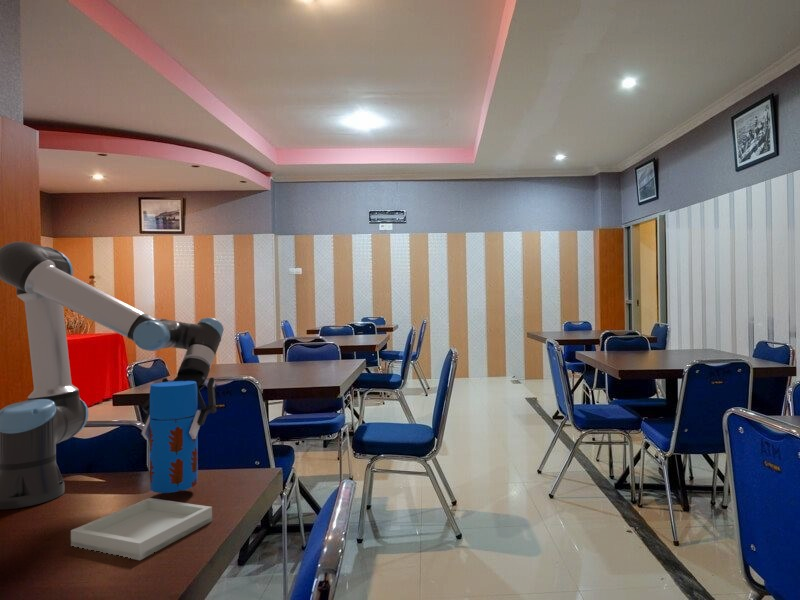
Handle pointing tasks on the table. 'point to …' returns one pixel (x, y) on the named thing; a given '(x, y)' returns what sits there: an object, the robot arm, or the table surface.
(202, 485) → the table surface
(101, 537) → the tray
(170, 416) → the thermos
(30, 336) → the robot arm
